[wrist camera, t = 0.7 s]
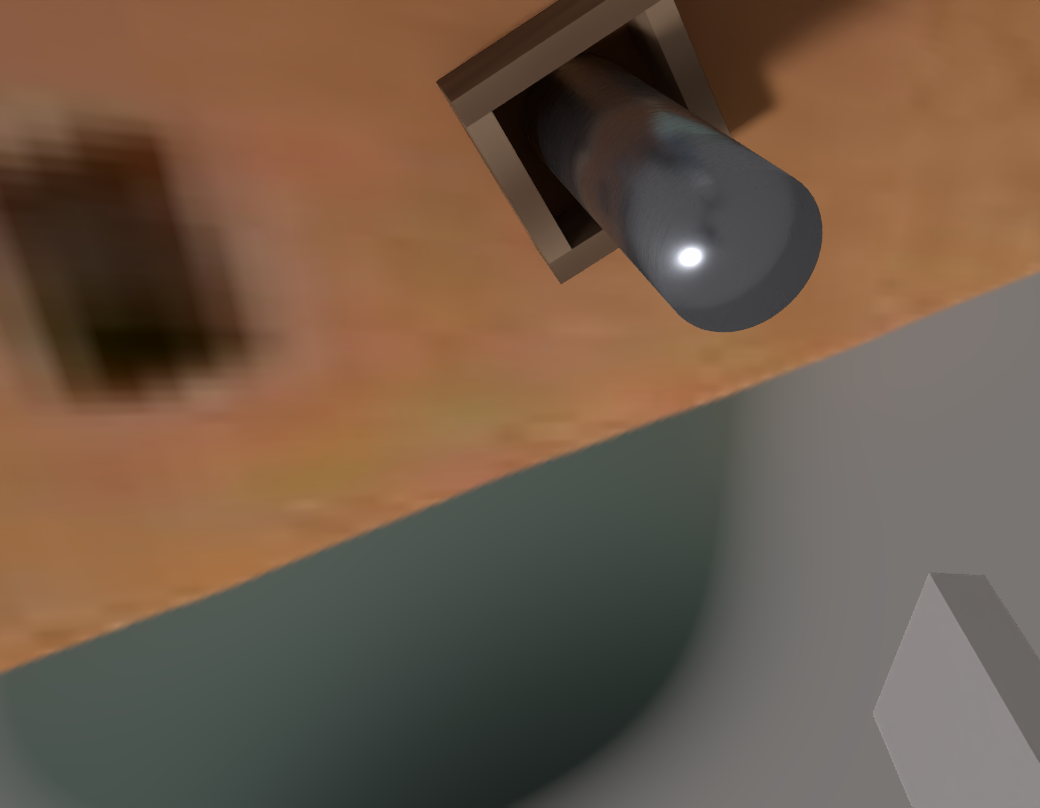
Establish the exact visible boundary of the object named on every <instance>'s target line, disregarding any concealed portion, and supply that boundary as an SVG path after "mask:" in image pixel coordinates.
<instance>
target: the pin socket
mask: <svg viewBox="0 0 1040 808" xmlns="http://www.w3.org/2000/svg"><path fill="white" fill-rule="evenodd" d="M626 23H627V24H628V26H629V28H630V30H631V32H632V35H633V37H634V39H635V41H636V43H637V45H638V48H639V50H640V52H641V54H642V56H643V59H644V61H645V63H646V65H647V67H648V69H649V72H650V74H651V76H652V78H653V80H654V83H655V85H656V87H657V89H658V91H659V92H660V93H662V94H664V95H665V96H667V97H668V98H670V99H671V100H673V101H675V102H676V103H678V104H679V105H681V106H682V107H684V108H685V109H687V110H689V111H690V112H692V113H693V114H695V115H696V116H698V117H700V118H701V119H703V120H704V121H706V122H707V123H709V124H711V125H712V126H714V127H715V128H717V129H718V130H720V131H721V132H723V133H725V134H726V135H728V136H729V137H731V135H730V133H729V131H728V128H727V126H726V124H725V121H724V119H723V116H722V114H721V112H720V109H719V107H718V105H717V102H716V100H715V97H714V95H713V93H712V90H711V88H710V86H709V83H708V81H707V78H706V76H705V74H704V71H703V69H702V67H701V64H700V62H699V59H698V57H697V55H696V52H695V50H694V48H693V45H692V43H691V41H690V38H689V36H688V33H687V31H686V29H685V26H684V24H683V22H682V19H681V17H680V14H679V12H678V10H677V7H676V5H675V3H674V0H559V1H558V2H556V3H555V4H553V5H552V6H550V7H548V8H547V9H545V10H544V11H542V12H541V13H539V14H538V15H536V16H535V17H533V18H532V19H530V20H529V21H527V22H526V23H524V24H523V25H521V26H520V27H518V28H517V29H515V30H514V31H512V32H511V33H509V34H508V35H506V36H505V37H503V38H502V39H500V40H499V41H497V42H496V43H494V44H493V45H491V46H490V47H488V48H487V49H485V50H484V51H482V52H481V53H479V54H478V55H476V56H474V57H473V58H471V59H470V60H468V61H467V62H465V63H464V64H462V65H461V66H459V67H458V68H456V69H455V70H453V71H452V72H450V73H449V74H447V75H446V76H444V77H443V78H441V79H440V80H438V81H437V84H438V86H439V87H440V89H441V91H442V92H443V94H444V96H445V97H446V99H447V101H448V102H449V104H450V106H451V107H452V109H453V111H454V112H455V114H456V116H457V117H458V119H459V120H460V122H461V124H462V125H463V127H464V129H465V130H466V132H467V134H468V135H469V137H470V139H471V140H472V142H473V144H474V145H475V147H476V149H477V150H478V152H479V154H480V155H481V157H482V158H483V160H484V162H485V163H486V165H487V167H488V168H489V170H490V172H491V173H492V175H493V177H494V178H495V180H496V182H497V183H498V185H499V187H500V188H501V190H502V192H503V193H504V195H505V197H506V198H507V200H508V201H509V203H510V205H511V206H512V208H513V210H514V211H515V213H516V215H517V216H518V218H519V220H520V221H521V223H522V225H523V226H524V228H525V230H526V231H527V233H528V235H529V236H530V238H531V240H532V241H533V243H534V244H535V246H536V248H537V249H538V251H539V253H540V254H541V256H542V257H543V259H544V260H545V262H546V263H547V265H548V266H549V267H550V269H551V270H552V272H553V273H554V275H555V276H556V278H557V279H558V281H559V282H560V283H561V284H562V283H564V282H566V281H567V280H569V279H570V278H572V277H573V276H575V275H577V274H578V273H580V272H581V271H583V270H584V269H586V268H588V267H589V266H591V265H592V264H594V263H595V262H597V261H599V260H600V259H602V258H603V257H605V256H606V255H608V254H610V253H611V252H613V251H614V250H616V249H618V248H619V247H618V246H617V245H616V243H615V242H614V241H613V240H612V239H611V238H610V237H609V236H608V234H607V233H606V232H605V231H604V230H603V229H602V228H601V227H600V225H599V224H598V223H597V222H596V221H595V220H594V219H593V218H592V216H591V215H590V214H589V213H588V212H587V211H586V210H585V209H584V207H583V206H582V205H581V204H580V203H578V204H577V205H575V206H574V207H572V208H570V209H569V210H567V211H566V212H564V213H563V214H561V215H560V216H558V217H556V218H555V219H554V218H553V216H552V215H551V213H550V211H549V209H548V208H547V206H546V204H545V202H544V201H543V199H542V197H541V196H540V194H539V192H538V190H537V189H536V187H535V185H534V183H533V182H532V180H531V178H530V176H529V175H528V173H527V171H526V170H525V168H524V166H523V164H522V163H521V161H520V159H519V157H518V156H517V154H516V152H515V151H514V149H513V147H512V145H511V144H510V142H509V140H508V138H507V137H506V135H505V133H504V132H503V130H502V128H501V126H500V125H499V123H498V121H497V119H496V118H495V116H494V114H493V113H492V111H493V110H494V109H496V108H497V107H499V106H501V105H502V104H504V103H505V102H507V101H508V100H510V99H511V98H513V97H514V96H516V95H517V94H519V93H520V92H522V91H523V90H525V89H526V88H528V87H529V86H531V85H533V84H534V83H536V82H537V81H539V80H540V79H542V78H543V77H545V76H546V75H548V74H549V73H551V72H552V71H554V70H555V69H557V68H558V67H560V66H562V65H563V64H565V63H566V62H568V61H569V60H571V59H572V58H574V57H575V56H577V55H578V54H580V53H581V52H583V51H584V50H586V49H587V48H589V47H590V46H592V45H594V44H595V43H597V42H598V41H600V40H601V39H603V38H604V37H606V36H607V35H609V34H610V33H612V32H613V31H615V30H616V29H618V28H619V27H621V26H623V25H624V24H626Z"/></svg>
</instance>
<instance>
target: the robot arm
mask: <svg viewBox="0 0 1040 808" xmlns="http://www.w3.org/2000/svg"><path fill="white" fill-rule="evenodd" d="M873 716H874V719H875V721H876V723H877V726H878V728H879V731H880V733H881V735H882V738H883V740H884V742H885V745H886V747H887V750H888V752H889V754H890V757H891V759H892V761H893V764H894V766H895V768H896V771H897V773H898V776H899V778H900V780H901V783H902V785H903V787H904V790H905V792H906V795H907V797H908V799H909V801H910V804H911V806H912V808H1040V660H1039V658H1038V657H1037V655H1036V654H1035V653H1034V651H1033V649H1032V647H1031V646H1030V644H1029V643H1028V641H1027V640H1026V638H1025V637H1024V635H1023V634H1022V632H1021V631H1020V629H1019V628H1018V626H1017V624H1016V623H1015V621H1014V620H1013V618H1012V617H1011V615H1010V614H1009V612H1008V611H1007V609H1006V608H1005V606H1004V605H1003V603H1002V601H1001V600H1000V599H999V597H998V595H997V594H996V592H995V591H994V589H993V588H992V586H991V585H990V583H989V581H988V580H987V578H986V577H985V576H984V575H963V574H945V573H929V574H928V577H927V579H926V582H925V584H924V587H923V590H922V592H921V594H920V597H919V599H918V602H917V604H916V607H915V609H914V612H913V614H912V617H911V619H910V622H909V624H908V627H907V629H906V632H905V634H904V637H903V639H902V642H901V644H900V647H899V649H898V652H897V654H896V657H895V659H894V661H893V664H892V667H891V669H890V671H889V674H888V676H887V679H886V681H885V684H884V687H883V689H882V692H881V694H880V697H879V699H878V701H877V704H876V707H875V709H874V711H873Z"/></svg>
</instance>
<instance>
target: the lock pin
mask: <svg viewBox="0 0 1040 808" xmlns="http://www.w3.org/2000/svg"><path fill="white" fill-rule="evenodd" d="M524 121H525V130H526V135H527V138H528V141H529V143H530V145H531V147H532V149H533V150H534V152H535V153H536V154H537V156H538V157H539V158H540V159H541V160H542V161H543V162H544V164H545V165H546V166H547V167H548V168H549V169H550V170H551V171H552V173H553V174H554V175H555V176H556V177H557V178H558V179H559V180H560V182H561V183H562V184H563V185H564V186H565V187H566V188H567V189H568V191H569V192H570V193H571V194H572V195H573V196H574V197H575V198H576V200H577V201H578V202H579V203H580V204H581V205H582V206H583V207H584V209H585V210H586V211H587V212H588V213H589V214H590V215H591V216H592V218H593V219H594V220H595V221H596V222H597V223H598V224H599V225H600V227H601V228H602V229H603V230H604V231H605V232H606V233H607V234H608V236H609V237H610V238H611V239H612V240H613V241H614V242H615V243H616V245H617V246H618V247H619V248H620V249H621V250H622V251H623V253H624V254H625V255H626V256H627V257H628V258H629V259H630V260H631V262H632V263H633V264H634V265H635V266H636V267H637V268H638V269H639V271H640V272H641V273H642V274H643V275H644V276H645V277H646V278H647V280H648V281H649V282H650V283H651V284H652V285H653V286H654V287H655V289H656V290H657V291H658V292H659V293H660V294H661V295H662V296H663V298H664V299H665V300H666V301H667V302H668V303H669V304H670V305H671V307H672V308H673V309H674V310H675V311H676V312H677V313H678V314H679V316H681V317H682V318H683V319H684V320H686V321H687V322H689V323H690V324H692V325H694V326H696V327H699V328H701V329H704V330H709V331H714V332H733V331H739V330H744V329H747V328H750V327H753V326H756V325H758V324H760V323H762V322H764V321H766V320H768V319H770V318H772V317H773V316H774V315H776V314H777V313H779V312H780V311H781V310H783V309H784V308H785V307H786V306H787V305H788V304H789V303H790V302H791V301H792V300H793V299H794V298H795V297H796V296H797V295H798V294H799V292H800V291H801V290H802V289H803V287H804V286H805V284H806V283H807V281H808V280H809V278H810V276H811V274H812V272H813V270H814V268H815V265H816V263H817V260H818V257H819V253H820V249H821V243H822V221H821V215H820V212H819V209H818V206H817V204H816V202H815V200H814V198H813V196H812V195H811V193H810V192H809V190H808V189H807V188H806V187H805V186H804V185H803V184H802V183H800V182H799V181H798V180H796V179H795V178H794V177H792V176H790V175H789V174H787V173H786V172H784V171H783V170H781V169H779V168H778V167H776V166H775V165H773V164H772V163H770V162H768V161H767V160H765V159H764V158H762V157H761V156H759V155H757V154H756V153H754V152H753V151H751V150H750V149H748V148H747V147H745V146H743V145H742V144H740V143H739V142H737V141H736V140H734V139H732V138H731V137H729V136H728V135H726V134H725V133H723V132H721V131H720V130H718V129H717V128H715V127H714V126H712V125H711V124H709V123H707V122H706V121H704V120H703V119H701V118H700V117H698V116H696V115H695V114H693V113H692V112H690V111H689V110H687V109H685V108H684V107H682V106H681V105H679V104H678V103H676V102H675V101H673V100H671V99H670V98H668V97H667V96H665V95H664V94H662V93H660V92H659V91H657V90H656V89H654V88H653V87H651V86H649V85H648V84H646V83H645V82H643V81H642V80H640V79H639V78H637V77H635V76H634V75H632V74H631V73H629V72H628V71H626V70H624V69H623V68H621V67H620V66H618V65H617V64H615V63H613V62H612V61H610V60H608V59H606V58H604V57H601V56H597V55H592V54H581V55H577V56H575V57H574V58H572V59H571V60H569V61H568V62H566V63H565V64H563V65H562V66H560V67H558V68H557V69H555V70H554V71H552V72H551V73H549V74H548V75H546V76H545V77H543V78H542V79H540V80H539V81H537V82H536V83H535V84H534V86H533V88H532V90H531V92H530V94H529V97H528V100H527V103H526V108H525V116H524Z"/></svg>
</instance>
